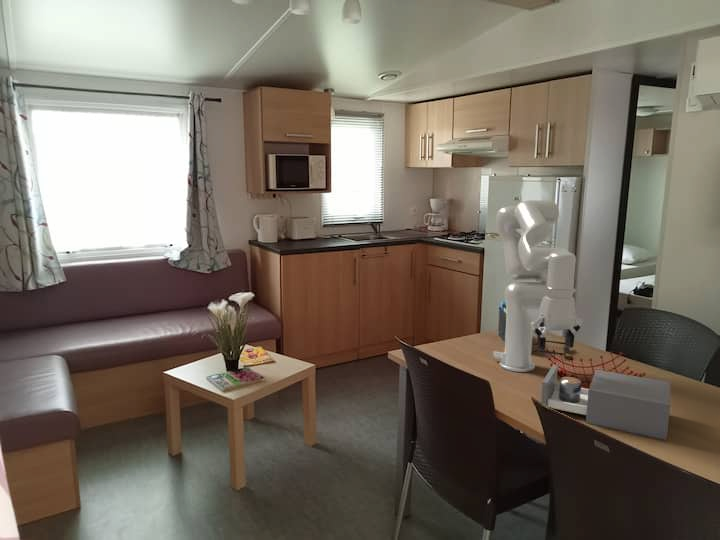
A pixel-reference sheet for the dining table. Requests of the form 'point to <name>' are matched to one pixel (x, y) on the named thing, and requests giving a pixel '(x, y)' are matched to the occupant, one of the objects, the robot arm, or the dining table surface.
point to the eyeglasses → (565, 349)
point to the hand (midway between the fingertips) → (555, 347)
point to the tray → (552, 395)
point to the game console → (502, 321)
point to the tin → (570, 389)
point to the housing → (629, 403)
